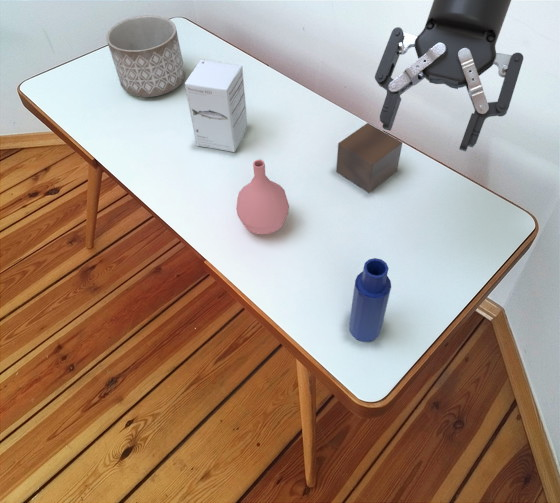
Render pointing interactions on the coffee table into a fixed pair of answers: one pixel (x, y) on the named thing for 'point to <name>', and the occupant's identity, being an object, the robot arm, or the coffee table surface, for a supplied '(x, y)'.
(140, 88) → the planter
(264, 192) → the pink bud vase
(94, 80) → the coffee table surface
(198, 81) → the white packaging box
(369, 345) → the coffee table surface
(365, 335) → the bottle
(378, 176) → the block
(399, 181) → the coffee table surface
